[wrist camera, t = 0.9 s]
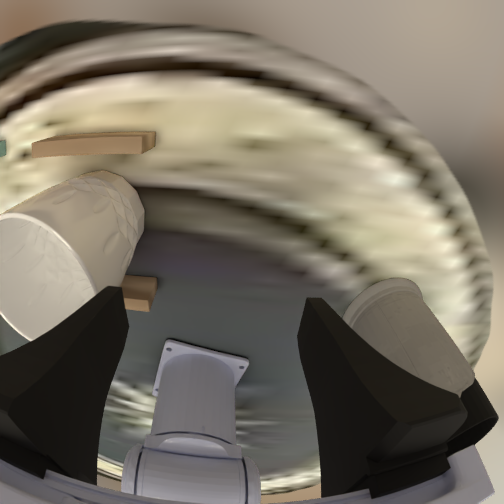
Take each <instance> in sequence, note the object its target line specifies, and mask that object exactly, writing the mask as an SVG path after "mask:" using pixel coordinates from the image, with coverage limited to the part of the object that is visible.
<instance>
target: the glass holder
mask: <svg viewBox="0 0 504 504" xmlns="http://www.w3.org/2000/svg"><path fill="white" fill-rule="evenodd" d="M342 319H343V320H344V321H345V322H346V323H347V324H348V325H349V326H350V327H351V328H352V329H353V330H354V331H355V332H356V333H357V334H358V335H359V336H360V337H361V338H363V339H364V340H365V341H366V342H367V343H368V344H369V345H371V346H372V347H373V348H374V349H375V350H377V351H378V352H379V353H381V354H382V355H383V356H385V357H386V358H387V359H389V360H390V361H392V362H393V363H395V364H396V365H398V366H399V367H401V368H402V369H404V370H406V371H407V372H409V373H411V374H413V375H414V376H416V377H418V378H420V379H422V380H424V381H426V382H428V383H430V384H432V385H435V386H437V387H440V388H442V389H445V390H447V391H450V392H453V393H455V394H458V396H459V398H460V399H461V401H462V403H463V405H464V407H465V409H466V410H467V412H468V414H467V418H466V420H465V422H464V423H463V424H462V425H461V427H460V428H459V429H458V430H457V431H456V432H455V433H454V434H453V435H452V436H451V437H450V438H449V439H448V440H446V444H447V446H448V450H447V451H446V452H445V455H446V457H447V458H448V457H449V456H451V455H453V454H455V453H457V452H459V451H461V450H463V449H465V448H467V447H470V446H472V445H475V444H476V443H477V442H478V441H480V440H481V439H482V438H483V437H484V436H485V435H486V434H487V433H488V432H489V431H490V430H491V429H492V428H493V427H494V426H495V424H496V423H497V421H498V415H497V413H496V411H495V410H494V408H493V406H492V405H491V403H490V401H489V399H488V398H487V396H486V394H485V393H484V391H483V389H482V388H481V386H480V385H479V383H478V381H477V380H476V378H475V373H474V371H473V370H472V368H471V366H470V365H469V363H468V362H467V360H466V359H465V357H464V356H463V354H462V353H461V351H460V350H459V348H458V347H457V346H456V344H455V343H454V341H453V340H452V339H451V337H450V336H449V334H448V333H447V332H446V330H445V329H444V328H443V326H442V325H441V323H440V322H439V321H438V319H437V318H436V317H435V315H434V314H433V313H432V312H431V310H430V309H429V308H428V306H427V305H426V304H425V302H424V301H423V298H422V293H421V291H420V289H419V287H418V286H417V285H416V284H415V283H414V282H412V281H411V280H408V279H405V278H390V279H386V280H383V281H380V282H378V283H375V284H374V285H372V286H370V287H368V288H367V289H366V290H364V291H363V292H361V293H360V294H359V295H358V296H357V297H356V298H355V299H354V300H353V301H352V303H351V304H350V305H349V307H348V308H347V310H346V311H345V314H344V316H343V318H342Z"/></svg>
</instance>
